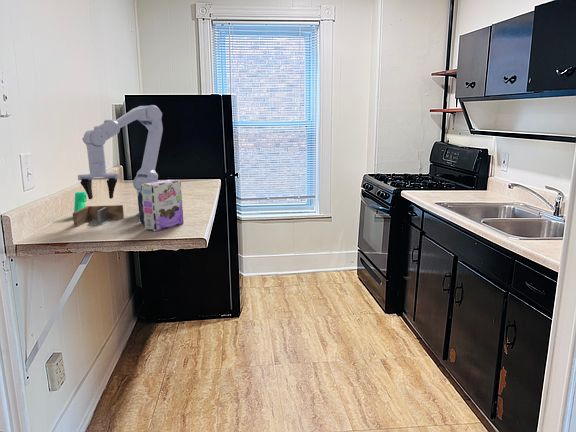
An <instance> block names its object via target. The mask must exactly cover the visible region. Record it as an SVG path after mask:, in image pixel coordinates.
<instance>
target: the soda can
mask: <svg viewBox="0 0 576 432" xmlns="http://www.w3.org/2000/svg"><path fill="white" fill-rule="evenodd" d="M137 206H138V213H139V215H138V216H139V221H140V224H142V225H143V226H144V216H143V204H142V191H141V192H139V195H138V194H137Z"/></svg>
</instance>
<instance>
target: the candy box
mask: <svg viewBox="0 0 576 432" xmlns="http://www.w3.org/2000/svg"><path fill="white" fill-rule="evenodd" d="M181 185H182V184H181V180H179V179H178V180H177V179H167V180H158V182H153V183H147V184H141V191H142V204H143V216H144V225H143V227H144V230H146V231H152V232H157V231H162V230H165V229H168V228H172V227H176V226H179V225H184V211H183V210H184V209H183V199H182V198H183V197H182V186H181Z"/></svg>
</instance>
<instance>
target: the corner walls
mask: <svg viewBox="0 0 576 432" xmlns="http://www.w3.org/2000/svg"><path fill="white" fill-rule="evenodd" d="M85 206H86V205H85ZM103 207H107V209H108V219H110V220H116V219H124V218H125V214H124V206H123V204H116V205H115V204H113V205H112V204H111V205H109V204H108V205H87V206H86V207H84V208H82V209H80V210H78V211H76V212H74V211H73V212H72V220H73V227H74V228H78V227H80V226H81V225H82V226H83V224H85V223H88V222H90V221H91V220H93V219H95V218H98V217H97V211H98V210H100V209H102V208H103Z"/></svg>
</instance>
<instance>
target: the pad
mask: <svg viewBox="0 0 576 432" xmlns="http://www.w3.org/2000/svg"><path fill="white" fill-rule="evenodd" d="M110 220H111V219H109V220H107V221H106V223H108V222H109V221H110ZM106 223H105V222H104V223H103V225H104V224H106ZM101 225H102V224H90V225H89V224H87V226H101ZM103 225H102V226H103Z"/></svg>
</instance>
